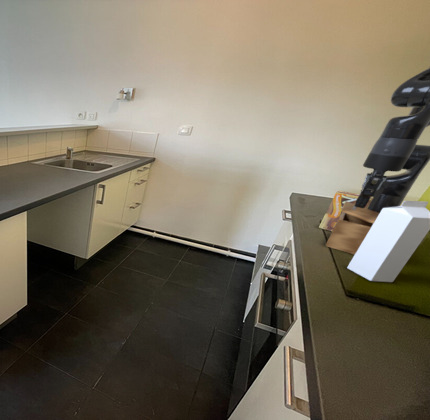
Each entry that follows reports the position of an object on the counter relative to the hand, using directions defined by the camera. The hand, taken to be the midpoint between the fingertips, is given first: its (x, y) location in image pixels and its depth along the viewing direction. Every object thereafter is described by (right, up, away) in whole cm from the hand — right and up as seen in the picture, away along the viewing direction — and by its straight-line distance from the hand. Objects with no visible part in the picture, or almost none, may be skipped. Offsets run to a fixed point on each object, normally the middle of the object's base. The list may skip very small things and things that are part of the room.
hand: (359, 205), depth 80 cm
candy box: (+9, -10, +15) cm, 20 cm away
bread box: (+2, -14, +3) cm, 15 cm away
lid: (+2, -4, -1) cm, 4 cm away
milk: (-13, -20, -12) cm, 27 cm away
